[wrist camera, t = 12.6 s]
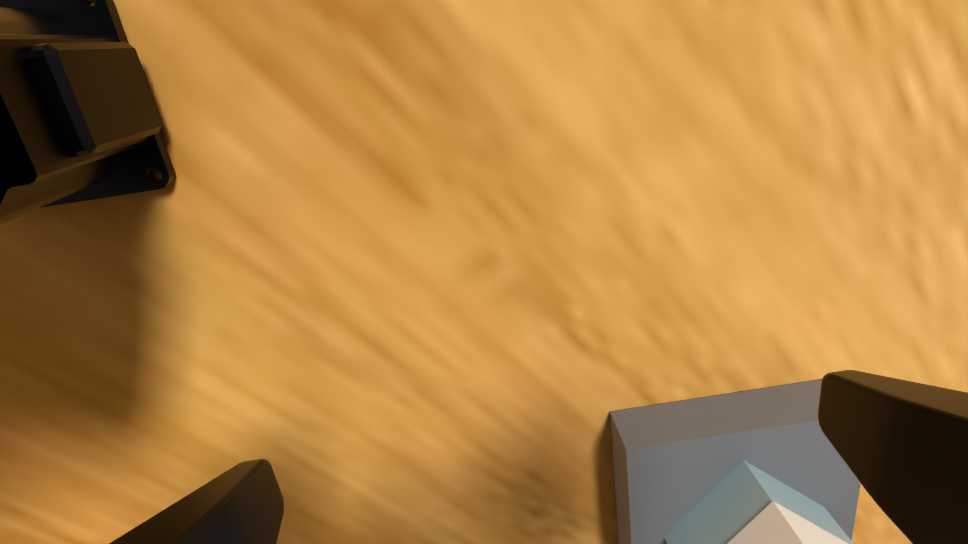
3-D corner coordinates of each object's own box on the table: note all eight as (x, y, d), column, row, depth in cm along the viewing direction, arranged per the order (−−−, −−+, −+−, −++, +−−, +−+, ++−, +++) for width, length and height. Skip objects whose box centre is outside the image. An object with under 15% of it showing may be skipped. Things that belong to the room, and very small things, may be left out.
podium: (620, 570, 29) (635, 616, 27) (610, 411, 25) (626, 449, 23) (812, 540, 29) (844, 584, 27) (832, 377, 25) (871, 412, 23)
